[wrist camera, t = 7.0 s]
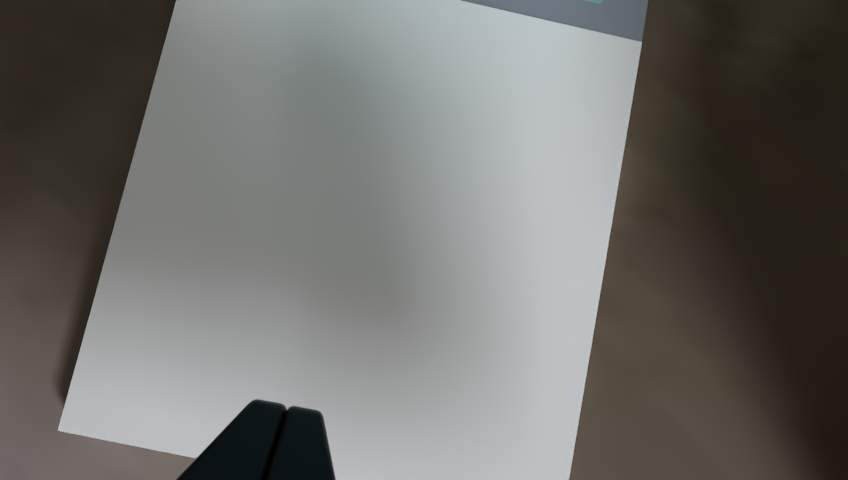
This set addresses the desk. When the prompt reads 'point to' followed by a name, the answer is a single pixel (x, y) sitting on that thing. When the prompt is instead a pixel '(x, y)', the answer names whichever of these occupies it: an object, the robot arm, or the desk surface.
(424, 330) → the board
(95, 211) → the desk surface
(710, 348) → the desk surface
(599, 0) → the t block
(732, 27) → the desk surface
